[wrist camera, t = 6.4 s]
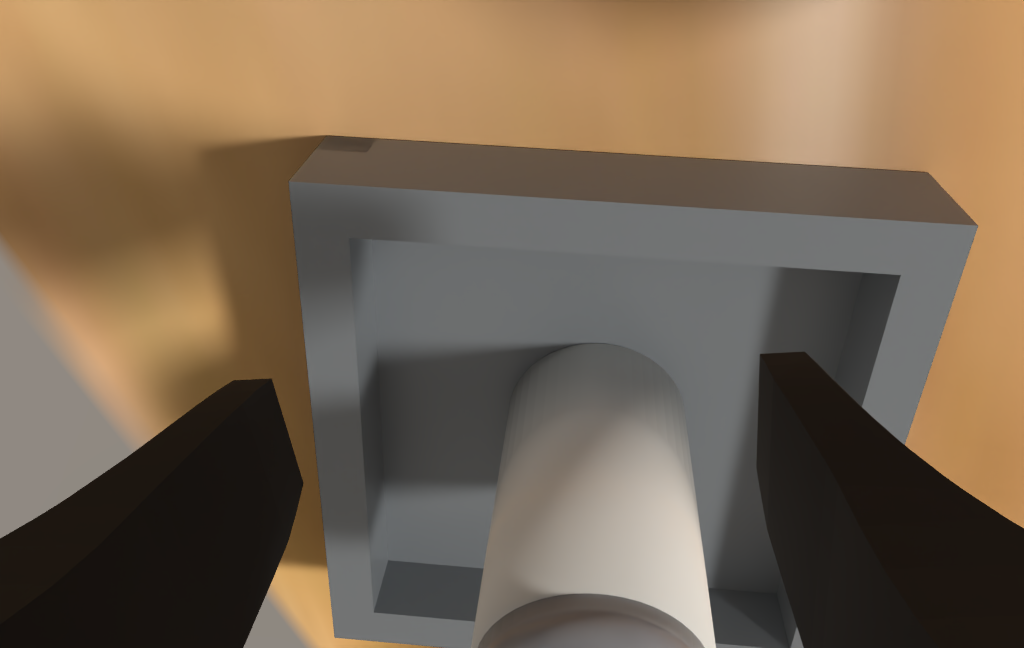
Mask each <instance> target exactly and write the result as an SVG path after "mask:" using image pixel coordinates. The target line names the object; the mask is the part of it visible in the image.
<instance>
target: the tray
mask: <svg viewBox="0 0 1024 648" xmlns="http://www.w3.org/2000/svg"><path fill="white" fill-rule="evenodd" d="M289 191H290V201H291V211H292V221H293V231H294V241H295V250H296V260H297V270H298V280H299V290H300V300H301V310H302V320H303V330H304V340H305V349H306V359H307V369H308V379H309V389H310V399H311V409H312V419H313V429H314V438H315V448H316V458H317V468H318V478H319V488H320V498H321V508H322V518H323V528H324V537H325V547H326V557H327V567H328V577H329V587H330V597H331V607H332V617H333V627H334V636H335V638H345V639H356V640H367V641H378V642H389V643H400V644H411V645H422V646H433V647H443V648H471V644H472V638H473V631H474V625H475V619H476V613H477V606H478V600H479V594H480V588H481V582H482V575H483V569H484V563H485V557H486V550H487V544H488V538H489V532H490V525H491V519H492V513H493V507H494V500H495V494H496V488H497V482H498V475H499V469H500V463H501V457H502V450H503V444H504V438H505V432H506V425H507V419H508V413H509V407H510V401H511V397H512V394H513V391H514V389H515V387H516V385H517V383H518V381H519V380H520V378H521V377H522V376H523V374H524V373H525V372H526V371H527V370H528V369H529V368H530V367H531V366H532V365H533V364H535V363H536V362H537V361H539V360H540V359H542V358H543V357H545V356H547V355H548V354H550V353H553V352H555V351H557V350H560V349H563V348H566V347H570V346H575V345H581V344H593V343H597V344H610V345H616V346H621V347H624V348H628V349H631V350H633V351H636V352H638V353H641V354H643V355H644V356H646V357H648V358H650V359H651V360H653V361H654V362H655V363H657V364H658V365H659V366H661V367H662V368H663V369H664V370H665V371H666V372H667V373H668V374H669V376H670V377H671V378H672V380H673V381H674V382H675V384H676V386H677V388H678V389H679V392H680V394H681V397H682V400H683V405H684V411H685V418H686V426H687V433H688V441H689V448H690V456H691V463H692V471H693V478H694V486H695V493H696V501H697V509H698V516H699V524H700V531H701V539H702V546H703V554H704V561H705V569H706V576H707V584H708V591H709V599H710V606H711V614H712V622H713V629H714V637H715V644H716V648H804V647H803V644H802V641H801V638H800V635H799V631H798V628H797V625H796V622H795V619H794V615H793V612H792V609H791V606H790V603H789V599H788V596H787V593H786V590H785V587H784V583H783V580H782V577H781V574H780V570H779V567H778V564H777V561H776V557H775V554H774V551H773V548H772V544H771V541H770V538H769V534H768V531H767V526H766V521H765V515H764V510H763V505H762V499H761V493H760V487H759V481H758V475H757V469H756V460H757V429H758V397H759V365H760V354H766V353H786V352H806V353H807V354H808V355H809V356H810V357H811V358H812V359H813V360H814V361H815V362H817V363H818V364H819V365H820V366H821V367H822V368H823V369H824V370H825V371H826V372H827V373H828V374H829V375H830V376H831V377H832V378H833V379H834V380H835V381H836V382H837V383H838V384H839V385H840V386H841V387H842V388H843V389H844V390H845V391H846V392H847V393H848V394H849V395H850V396H851V397H852V398H853V399H854V400H855V401H856V402H857V403H858V404H859V405H860V406H861V407H862V408H863V409H865V410H866V411H867V412H868V413H869V414H870V415H871V416H872V417H873V418H874V419H875V420H877V421H878V422H879V423H880V424H881V425H882V426H883V427H884V428H886V429H887V430H888V431H889V432H890V433H891V434H892V435H893V436H895V437H896V438H897V439H898V440H899V441H900V442H901V443H903V444H904V445H905V442H906V439H907V436H908V433H909V430H910V427H911V424H912V421H913V418H914V415H915V412H916V409H917V406H918V403H919V400H920V397H921V394H922V391H923V388H924V385H925V382H926V379H927V376H928V373H929V371H930V368H931V365H932V362H933V359H934V356H935V353H936V350H937V347H938V344H939V341H940V338H941V335H942V332H943V329H944V326H945V323H946V320H947V317H948V314H949V311H950V308H951V305H952V302H953V299H954V296H955V293H956V290H957V287H958V284H959V281H960V278H961V275H962V272H963V269H964V266H965V263H966V260H967V257H968V254H969V251H970V248H971V245H972V242H973V239H974V236H975V234H976V231H977V228H978V225H977V224H976V223H975V222H974V221H973V220H972V219H971V218H970V217H969V216H968V214H967V213H966V212H965V211H964V210H963V209H962V208H961V207H960V206H959V205H958V204H957V203H956V202H955V201H954V200H953V198H952V197H951V196H950V195H949V194H948V193H947V192H946V191H945V190H944V189H943V188H942V187H941V186H940V185H939V184H938V182H937V181H936V180H935V179H934V178H933V177H932V176H931V175H930V174H929V173H927V172H910V171H894V170H878V169H862V168H845V167H829V166H813V165H796V164H780V163H764V162H747V161H731V160H715V159H699V158H682V157H666V156H650V155H633V154H617V153H601V152H584V151H568V150H552V149H535V148H519V147H503V146H487V145H470V144H454V143H438V142H421V141H405V140H389V139H372V138H356V137H340V136H326V137H325V138H324V140H323V141H322V142H321V143H320V144H319V146H318V147H317V148H316V149H315V150H314V152H313V153H312V154H311V155H310V156H309V158H308V159H307V160H306V161H305V162H304V164H303V165H302V166H301V167H300V168H299V170H298V171H297V172H296V173H295V174H294V176H293V177H292V178H291V179H290V180H289Z"/></svg>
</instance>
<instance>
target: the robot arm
mask: <svg viewBox="0 0 1024 648" xmlns="http://www.w3.org/2000/svg"><path fill="white" fill-rule="evenodd" d="M756 469H757V475H758V481H759V487H760V493H761V499H762V505H763V510H764V515H765V521H766V526H767V531H768V534H769V538H770V541H771V544H772V548H773V551H774V554H775V557H776V561H777V564H778V567H779V570H780V574H781V577H782V580H783V583H784V587H785V590H786V593H787V596H788V599H789V603H790V606H791V609H792V612H793V615H794V619H795V622H796V625H797V628H798V631H799V635H800V638H801V641H802V644H803V647H804V648H1024V528H1022V527H1020V526H1018V525H1017V524H1015V523H1013V522H1012V521H1010V520H1009V519H1007V518H1005V517H1004V516H1002V515H1001V514H999V513H998V512H996V511H995V510H993V509H992V508H990V507H989V506H987V505H986V504H984V503H982V502H981V501H979V500H978V499H976V498H975V497H973V496H972V495H970V494H969V493H967V492H966V491H964V490H963V489H961V488H960V487H959V486H957V485H956V484H954V483H953V482H952V481H950V480H949V479H947V478H946V477H945V476H943V475H942V474H941V473H939V472H938V471H937V470H935V469H934V468H933V467H932V466H930V465H929V464H928V463H926V462H925V461H924V460H923V459H921V458H920V457H919V456H918V455H916V454H915V453H914V452H912V451H911V450H910V449H909V448H907V447H906V446H905V445H904V444H903V443H901V442H900V441H899V440H898V439H897V438H896V437H895V436H893V435H892V434H891V433H890V432H889V431H888V430H887V429H886V428H884V427H883V426H882V425H881V424H880V423H879V422H878V421H877V420H875V419H874V418H873V417H872V416H871V415H870V414H869V413H868V412H867V411H866V410H865V409H863V408H862V407H861V406H860V405H859V404H858V403H857V402H856V401H855V400H854V399H853V398H852V397H851V396H850V395H849V394H848V393H847V392H846V391H845V390H844V389H843V388H842V387H841V386H840V385H839V384H838V383H837V382H836V381H835V380H834V379H833V378H832V377H831V376H830V375H829V374H828V373H827V372H826V371H825V370H824V369H823V368H822V367H821V366H820V365H819V364H818V363H817V362H815V361H814V360H813V359H812V358H811V357H810V356H809V355H808V354H807V353H806V352H786V353H766V354H760V365H759V397H758V429H757V460H756ZM302 487H303V480H302V477H301V474H300V471H299V467H298V464H297V461H296V457H295V454H294V451H293V448H292V444H291V441H290V438H289V434H288V431H287V428H286V425H285V421H284V418H283V415H282V411H281V408H280V405H279V402H278V398H277V395H276V392H275V389H274V385H273V382H272V379H255V380H235V381H232V382H230V383H229V384H227V385H226V386H224V387H222V388H221V389H219V390H218V391H216V392H215V393H213V394H212V395H211V396H209V397H208V398H206V399H205V400H204V401H202V402H201V403H199V404H198V405H197V406H195V407H194V408H193V409H191V410H190V411H189V412H187V413H186V414H185V415H183V416H182V417H181V418H179V419H178V420H177V421H175V422H174V423H173V424H171V425H170V426H169V427H167V428H166V429H164V430H163V431H162V432H160V433H159V434H158V435H156V436H155V437H154V438H152V439H151V440H150V441H148V442H147V443H146V444H144V445H143V446H142V447H140V448H139V449H138V450H136V451H135V452H133V453H132V454H131V455H129V456H128V457H127V458H125V459H124V460H122V461H121V462H119V463H118V464H117V465H115V466H114V467H112V468H111V469H110V470H108V471H106V472H105V473H103V474H102V475H101V476H99V477H98V478H96V479H95V480H93V481H92V482H90V483H89V484H88V485H86V486H85V487H83V488H82V489H80V490H79V491H77V492H76V493H74V494H73V495H72V496H70V497H69V498H67V499H65V500H64V501H62V502H61V503H60V504H58V505H56V506H54V507H53V508H51V509H50V510H48V511H46V512H45V513H43V514H42V515H40V516H38V517H37V518H35V519H33V520H32V521H30V522H28V523H26V524H25V525H23V526H21V527H19V528H18V529H16V530H14V531H13V532H11V533H9V534H8V535H6V536H4V537H2V538H0V648H243V647H244V644H245V642H246V640H247V638H248V635H249V633H250V631H251V628H252V626H253V623H254V621H255V619H256V617H257V614H258V612H259V610H260V607H261V605H262V603H263V600H264V598H265V596H266V594H267V591H268V589H269V587H270V584H271V582H272V579H273V577H274V575H275V572H276V570H277V567H278V565H279V563H280V560H281V558H282V555H283V553H284V550H285V548H286V545H287V543H288V540H289V537H290V533H291V529H292V526H293V522H294V519H295V515H296V511H297V507H298V503H299V499H300V495H301V491H302Z"/></svg>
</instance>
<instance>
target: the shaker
mask: <svg viewBox="0 0 1024 648" xmlns="http://www.w3.org/2000/svg"><path fill="white" fill-rule="evenodd" d="M471 648H716V644H715V637H714V629H713V622H712V614H711V606H710V599H709V591H708V584H707V576H706V569H705V561H704V554H703V546H702V539H701V531H700V524H699V516H698V509H697V501H696V493H695V486H694V478H693V471H692V463H691V456H690V448H689V441H688V433H687V426H686V418H685V411H684V405H683V400H682V397H681V394H680V392H679V389H678V388H677V386H676V384H675V382H674V381H673V380H672V378H671V377H670V376H669V374H668V373H667V372H666V371H665V370H664V369H663V368H662V367H661V366H659V365H658V364H657V363H655V362H654V361H653V360H651V359H650V358H648V357H646V356H644V355H643V354H641V353H638V352H636V351H633V350H631V349H628V348H624V347H621V346H616V345H610V344H597V343H593V344H581V345H575V346H570V347H566V348H563V349H560V350H557V351H555V352H553V353H550V354H548V355H547V356H545V357H543V358H542V359H540V360H539V361H537V362H536V363H535V364H533V365H532V366H531V367H530V368H529V369H528V370H527V371H526V372H525V373H524V374H523V376H522V377H521V378H520V380H519V381H518V383H517V385H516V387H515V389H514V391H513V394H512V397H511V401H510V407H509V413H508V419H507V425H506V432H505V438H504V444H503V450H502V457H501V463H500V469H499V475H498V482H497V488H496V494H495V500H494V507H493V513H492V519H491V525H490V532H489V538H488V544H487V550H486V557H485V563H484V569H483V575H482V582H481V588H480V594H479V600H478V606H477V613H476V619H475V625H474V631H473V638H472V644H471Z"/></svg>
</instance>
